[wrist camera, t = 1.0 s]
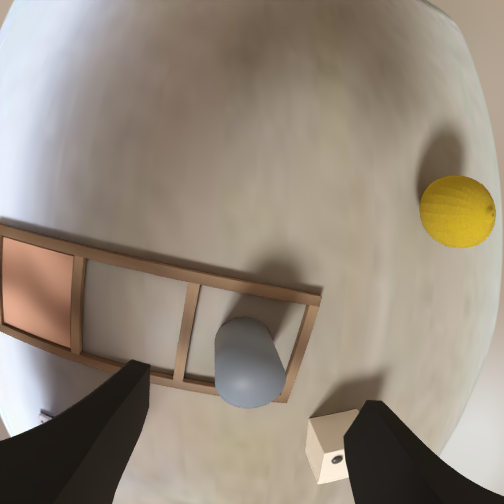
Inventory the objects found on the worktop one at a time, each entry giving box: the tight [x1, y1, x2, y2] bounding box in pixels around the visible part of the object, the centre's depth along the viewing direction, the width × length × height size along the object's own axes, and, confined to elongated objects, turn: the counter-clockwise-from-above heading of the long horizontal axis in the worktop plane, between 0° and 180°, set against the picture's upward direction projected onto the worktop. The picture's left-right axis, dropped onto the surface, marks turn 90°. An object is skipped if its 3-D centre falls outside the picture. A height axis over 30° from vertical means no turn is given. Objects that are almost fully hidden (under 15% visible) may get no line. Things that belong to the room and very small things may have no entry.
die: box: [305, 409, 359, 485], centre depth 23 cm, size 5×5×5 cm
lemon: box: [420, 175, 496, 248], centre depth 19 cm, size 6×6×8 cm
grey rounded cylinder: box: [215, 317, 286, 408], centre depth 20 cm, size 4×4×6 cm
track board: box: [0, 223, 322, 403], centre depth 21 cm, size 10×28×1 cm, turn 77°
